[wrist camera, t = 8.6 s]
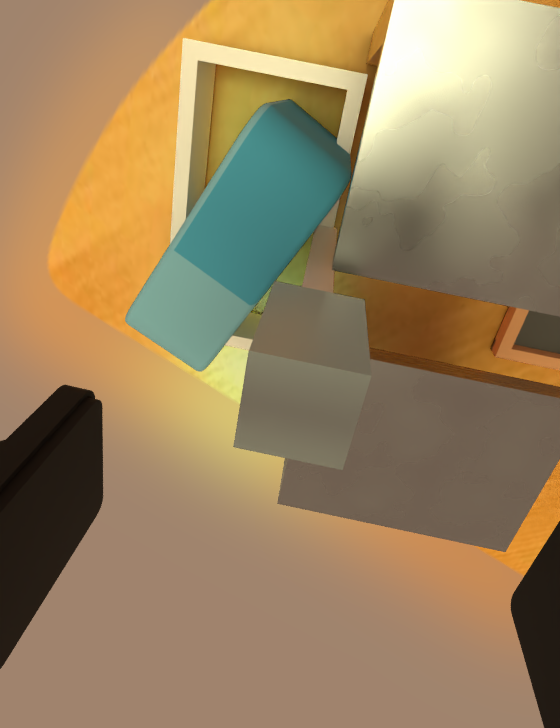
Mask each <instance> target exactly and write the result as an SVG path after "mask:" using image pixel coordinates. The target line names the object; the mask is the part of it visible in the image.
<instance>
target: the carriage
mask: <svg viewBox="0 0 560 728" xmlns="http://www.w3.org/2000/svg"><path fill="white" fill-rule="evenodd" d="M216 64H219V65H224V66H229V67H234V68H239V69H245V70H250V71H255V72H260V73H265V74H270V75H275V76H280V77H285V78H290V79H295V80H300V81H305V82H310V83H315V84H320V85H325V86H330V87H335V88H341V89H346V90H347V94H346V99H345V104H344V108H343V113H342V118H341V123H340V128H339V132H338V137H337V144H338V145H340V146H341V147H342V148H343V149H344V150H345V151H347V152H348V153H349V154H350V152H351V148H352V143H353V139H354V134H355V130H356V125H357V121H358V116H359V112H360V107H361V103H362V99H363V94H364V90H365V85H366V81H367V76H368V74H363V73H358V72H353V71H348V70H343V69H338V68H333V67H328V66H323V65H318V64H313V63H308V62H303V61H298V60H293V59H287V58H282V57H277V56H272V55H267V54H262V53H257V52H252V51H247V50H242V49H237V48H232V47H227V46H222V45H216V44H211V43H206V42H201V41H196V40H191V39H186V38H183V46H182V62H181V78H180V94H179V110H178V126H177V142H176V158H175V174H174V190H173V206H172V222H171V238H170V244H171V242H172V240H173V239H174V237H175V236H176V234H177V233H178V231H179V229H180V228H181V226H182V225H183V223H184V221H185V220H186V218H187V217H188V215H189V213H190V212H191V210H192V209H193V207H194V206H195V204H196V202H197V201H198V199H199V198H200V196H201V194H202V193H203V191H204V190H205V179H206V168H207V157H208V147H209V136H210V125H211V114H212V103H213V92H214V82H215V71H216ZM340 197H341V196H340ZM339 201H340V198H339V199H338V201H337V202H336V203H335V205H334V206H333V207H332V209H331V210H330V211H329V213H328V214H327V215H326V217H325V218H324V219H323V220H322V222H321V223H320V224H319V225H318V227H317V228H316V229H315V231H314V235H313V239H312V244H311V248H310V253H309V257H308V262H307V266H306V271H305V275H304V280H303V284H302V286H297V285H292V284H287V283H282V282H277V281H274V284H273V287H272V289H271V292H270V295H269V298H268V300H267V303H266V306H265V308H264V311H263V314H262V315H260V314H255V313H251V312H250V313H249V315H248V316H247V317H246V319H245V320H244V321H243V322H242V324H241V325H240V326H239V328H238V329H237V330H236V331H235V333H234V334H233V335H232V336H231V338H230V339H229V340H228V342H227V343H226V344H225V345H226V346H231V347H236V348H240V349H245V350H249V353H248V359H247V365H246V371H245V378H244V384H243V390H242V397H241V403H240V409H239V415H238V422H237V429H236V434H235V440H234V447H236V448H240V449H246V450H250V451H255V452H260V453H264V454H269V455H274V456H279V457H283V458H288V459H293V460H297V461H302V462H307V463H312V464H316V465H321V466H326V467H330V468H335V469H340V470H343V467H344V464H345V461H346V457H347V454H348V451H349V448H350V444H351V441H352V438H353V435H354V431H355V428H356V425H357V422H358V418H359V415H360V412H361V409H362V405H363V402H364V399H365V396H366V393H367V389H368V386H369V383H370V380H371V376H372V375H371V364H370V353H369V342H368V331H367V320H366V309H365V299H360V298H355V297H350V296H345V295H341V294H336V293H333V286H334V270H332V261H333V257H334V253H335V248H336V237H337V228H334V223H335V219H336V214H337V210H338V206H339Z"/></svg>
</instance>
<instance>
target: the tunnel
mask: <svg viewBox="0 0 560 728" xmlns="http://www.w3.org/2000/svg"><path fill="white" fill-rule="evenodd" d="M366 64H369V65H374V66H378V67H377V71H376V75H375V80H374V84H373V88H372V93H371V97H370V101H369V106H368V110H367V114H366V119H365V123H364V127H363V132H362V136H361V140H360V144H359V149H358V153H357V157H356V162H355V166H354V170H353V175H352V179H351V183H350V188H349V192H348V196H347V201H346V205H345V209H344V214H343V218H342V222H341V227H340V231H339V235H338V240H337V244H336V248H335V253H334V257H333V261H332V270H334V271H339V272H344V273H348V274H353V275H358V276H363V277H368V278H373V279H378V280H383V281H388V282H393V283H397V284H402V285H407V286H412V287H417V288H422V289H427V290H432V291H437V292H442V293H446V294H451V295H456V296H461V297H466V298H471V299H476V300H481V301H486V302H490V303H495V304H500V305H505V306H510V307H515V308H520V309H525V310H530V311H535V312H539V313H544V314H549V315H554V316H559V317H560V8H557V7H552V6H546V5H541V4H536V3H531V2H526V1H521V0H389V1H388V3H387V5H386V7H385V9H384V11H383V13H382V15H381V17H380V19H379V21H378V24H377V26H376V28H375V30H374V32H373V36H372V41H371V45H370V50H369V54H368V59H367V63H366ZM369 353H370V364H371V375H372V376H371V380H370V383H369V386H368V389H367V393H366V396H365V399H364V402H363V405H362V409H361V412H360V415H359V418H358V422H357V425H356V428H355V431H354V435H353V438H352V441H351V444H350V448H349V451H348V454H347V457H346V461H345V464H344V467H343V470H340V469H335V468H330V467H326V466H321V465H316V464H312V463H307V462H302V461H297V460H293V459H288V458H285V461H284V467H283V474H282V479H281V485H280V491H279V497H278V504H282V505H286V506H291V507H296V508H301V509H305V510H310V511H315V512H319V513H324V514H329V515H333V516H338V517H343V518H348V519H353V520H357V521H362V522H366V523H371V524H376V525H381V526H385V527H390V528H395V529H400V530H404V531H409V532H414V533H418V534H423V535H427V536H432V537H437V538H442V539H447V540H451V541H456V542H460V543H465V544H470V545H474V546H479V547H484V548H489V549H493V550H498V551H503V552H506V550H507V548H508V547H509V545H510V543H511V541H512V540H513V538H514V536H515V535H516V533H517V531H518V529H519V528H520V526H521V524H522V523H523V521H524V519H525V517H526V516H527V514H528V512H529V511H530V509H531V507H532V505H533V504H534V502H535V500H536V499H537V497H538V495H539V494H540V492H541V490H542V488H543V487H544V485H545V483H546V482H547V480H548V478H549V476H550V475H551V473H552V471H553V470H554V468H555V466H556V464H557V463H558V461H559V459H560V387H558V386H553V385H548V384H543V383H538V382H534V381H529V380H524V379H519V378H514V377H509V376H504V375H500V374H495V373H490V372H485V371H480V370H475V369H471V368H466V367H461V366H456V365H451V364H446V363H442V362H437V361H432V360H427V359H422V358H417V357H413V356H408V355H403V354H398V353H393V352H388V351H384V350H379V349H374V348H369Z"/></svg>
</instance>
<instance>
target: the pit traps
mask: <svg viewBox="0 0 560 728" xmlns="http://www.w3.org/2000/svg"><path fill="white" fill-rule="evenodd" d="M491 351H492V352H493V354H494V356H495V357H498V358H503V359H507V360H512V361H517V362H522V363H527V364H532V365H537V366H541V367H546V368H551V369H556V370H560V317H559V316H554V315H549V314H544V313H539V312H535V311H530V310H525V309H520V308H515V307H510V306H509V308H508V310H507V312H506V314H505V317H504V319H503V321H502V324H501V326H500V328H499V331H498V333H497V335H496V338H495V340H494V342H493V344H492V347H491Z"/></svg>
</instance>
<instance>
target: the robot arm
mask: <svg viewBox="0 0 560 728" xmlns="http://www.w3.org/2000/svg"><path fill="white" fill-rule="evenodd" d="M102 438H103V437H102V403H101V401H100V400H97V399H95V395H94V393H93V392H92V391H90V390H86V389H82V388H77V387H72V386H68V385H63V386H61V387H59V388H58V389H57V390H56V391H55V392H54V393H53V394H52V395H51V396H50V397H49V398H48V399H47V400H46V401H45V402H44V403H43V404H42V405H41V406H40V407H39V408H38V409H37V410H36V411H35V412H34V413H33V414H32V415H30V416H29V418H28V419H26V420H25V422H23V423H22V425H20V426H19V427H18V428H17V429H16V430H15V431H14V432H13V433H12V434H11V435H10V436H9V437H8V438H7V439H6V440H3V441H0V669H1V667H2V666H3V665H4V663H5V661H6V660H7V658H8V657H9V655H10V654H11V652H12V650H13V649H14V647H15V646H16V644H17V642H18V641H19V639H20V638H21V636H22V634H23V632H24V631H25V630H26V628H27V626H28V625H29V623H30V622H31V620H32V618H33V617H34V615H35V614H36V612H37V610H38V608H39V607H40V605H41V604H42V602H43V601H44V599H45V598H46V596H47V594H48V592H49V591H50V590H51V588H52V586H53V585H54V583H55V581H56V580H57V578H58V577H59V575H60V573H61V572H62V570H63V569H64V567H65V565H66V564H67V562H68V561H69V559H70V557H71V556H72V554H73V553H74V551H75V549H76V548H77V546H78V544H79V543H80V541H81V540H82V538H83V537H84V535H85V533H86V532H87V530H88V529H89V527H90V525H91V523H92V522H93V521H94V519H95V517H96V516H97V514H98V512H99V510H100V508H101V504H102V500H103V450H102V449H103V444H102V443H103V439H102ZM511 612H512V617H513V620H514V624H515V627H516V630H517V634H518V638H519V641H520V644H521V648H522V652H523V655H524V658H525V662H526V665H527V669H528V673H529V676H530V679H531V683H532V686H533V690H534V693H535V697H536V700H537V704H538V707H539V711H540V714H541V718H542V721H543V725H544V728H560V521H559V523H558V524H557V526H556V528H555V529H554V531H553V532H552V534H551V535H550V537H549V539H548V540H547V542H546V543H545V545H544V546H543V548H542V549H541V551H540V553H539V554H538V556H537V557H536V559H535V560H534V562H533V564H532V565H531V567H530V568H529V570H528V571H527V573H526V575H525V576H524V578H523V580H522V581H521V582H520V584H519V585H518V587H517V589H516V590H515V592H514V594H513V596H512V599H511Z"/></svg>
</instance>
